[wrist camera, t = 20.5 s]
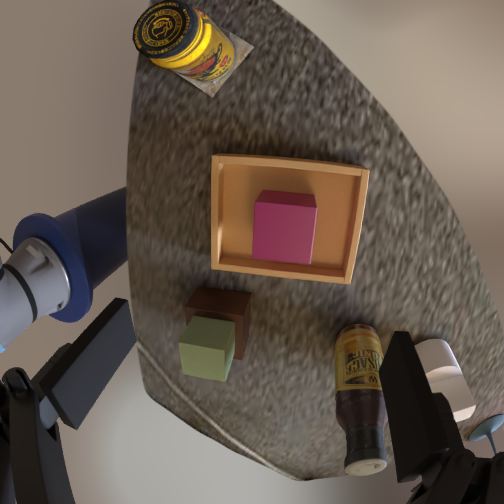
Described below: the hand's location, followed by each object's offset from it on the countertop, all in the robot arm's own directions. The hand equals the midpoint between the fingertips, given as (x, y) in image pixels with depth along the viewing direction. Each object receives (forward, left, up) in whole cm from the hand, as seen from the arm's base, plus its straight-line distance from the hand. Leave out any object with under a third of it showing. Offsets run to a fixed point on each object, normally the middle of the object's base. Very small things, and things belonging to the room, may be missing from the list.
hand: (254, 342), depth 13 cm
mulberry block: (0, 0, -20) cm, 20 cm away
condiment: (-10, +18, -21) cm, 29 cm away
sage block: (-7, -14, -16) cm, 22 cm away
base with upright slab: (+24, -20, -21) cm, 38 cm away
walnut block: (-7, -14, -21) cm, 26 cm away
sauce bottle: (+11, -16, -21) cm, 29 cm away
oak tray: (0, 0, -21) cm, 21 cm away
